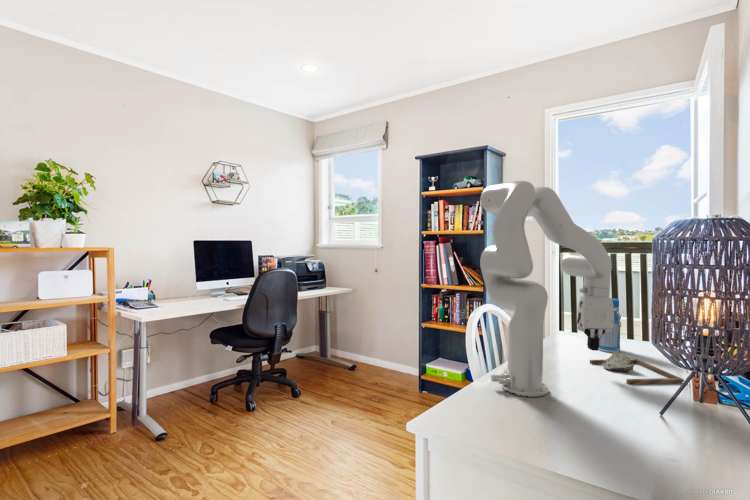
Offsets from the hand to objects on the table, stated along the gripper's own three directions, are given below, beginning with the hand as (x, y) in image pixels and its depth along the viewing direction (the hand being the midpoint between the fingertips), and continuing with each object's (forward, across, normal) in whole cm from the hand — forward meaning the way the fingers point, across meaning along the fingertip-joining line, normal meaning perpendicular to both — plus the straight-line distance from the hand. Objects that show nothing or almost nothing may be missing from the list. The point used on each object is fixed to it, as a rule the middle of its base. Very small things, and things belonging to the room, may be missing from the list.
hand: (592, 349), depth 131 cm
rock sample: (+8, +12, +4) cm, 14 cm away
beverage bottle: (+7, +23, +27) cm, 36 cm away
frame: (+7, +14, +1) cm, 16 cm away
